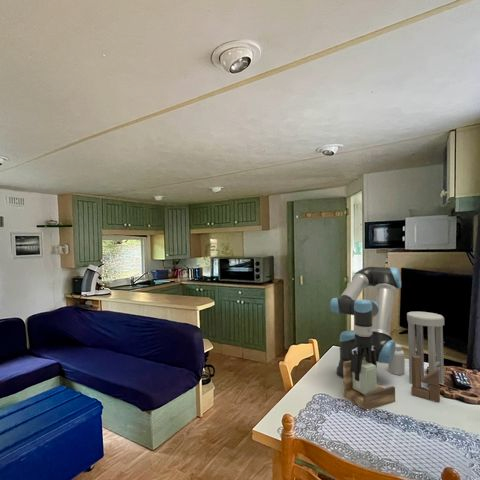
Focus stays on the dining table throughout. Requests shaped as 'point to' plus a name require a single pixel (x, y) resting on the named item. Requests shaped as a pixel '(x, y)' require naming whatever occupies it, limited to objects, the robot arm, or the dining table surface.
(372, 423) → the dining table surface
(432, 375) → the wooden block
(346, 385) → the wooden display stand
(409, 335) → the stool
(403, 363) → the pill bottle
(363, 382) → the sage green upright block
